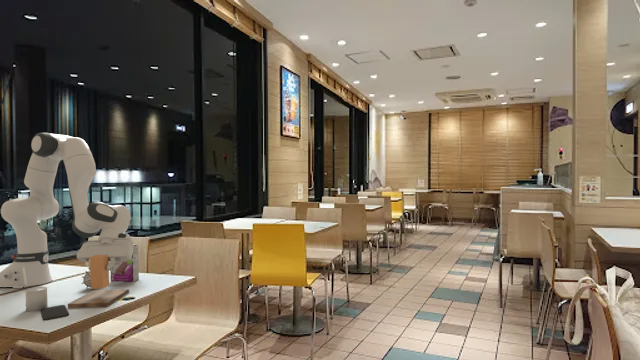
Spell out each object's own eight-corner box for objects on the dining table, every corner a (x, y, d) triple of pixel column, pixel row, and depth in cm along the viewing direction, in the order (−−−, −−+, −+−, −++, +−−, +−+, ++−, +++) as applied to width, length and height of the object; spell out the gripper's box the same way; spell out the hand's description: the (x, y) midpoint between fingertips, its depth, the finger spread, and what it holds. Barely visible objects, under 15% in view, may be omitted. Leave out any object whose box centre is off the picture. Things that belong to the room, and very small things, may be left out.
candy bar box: (109, 281, 184) (109, 245, 184) (116, 279, 189) (115, 243, 189) (133, 282, 183) (132, 245, 183) (139, 279, 188) (138, 243, 188)
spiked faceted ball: (90, 298, 172) (74, 282, 167) (90, 286, 179) (75, 271, 174) (110, 286, 174) (95, 270, 169) (109, 275, 181) (95, 260, 176)
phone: (64, 304, 150) (69, 314, 138) (64, 306, 150) (69, 316, 138) (40, 308, 146) (43, 319, 134) (40, 311, 146) (43, 322, 134)
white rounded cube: (25, 313, 142) (24, 293, 142) (26, 307, 147) (25, 288, 147) (47, 309, 146) (47, 290, 145) (47, 304, 151) (47, 285, 151)
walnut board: (67, 307, 147) (67, 303, 147) (94, 293, 165) (93, 290, 165) (107, 306, 147) (107, 302, 147) (129, 292, 165) (128, 289, 165)
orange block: (91, 288, 154) (90, 257, 154) (97, 285, 158) (96, 254, 158) (103, 288, 154) (102, 256, 154) (109, 285, 158) (108, 254, 158)
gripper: (81, 236, 163) (67, 265, 153) (133, 234, 163) (122, 264, 153) (87, 245, 167) (74, 274, 157) (138, 243, 168) (128, 273, 158)
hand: (98, 269), depth 155 cm, fingers closed on orange block, 5 cm apart
